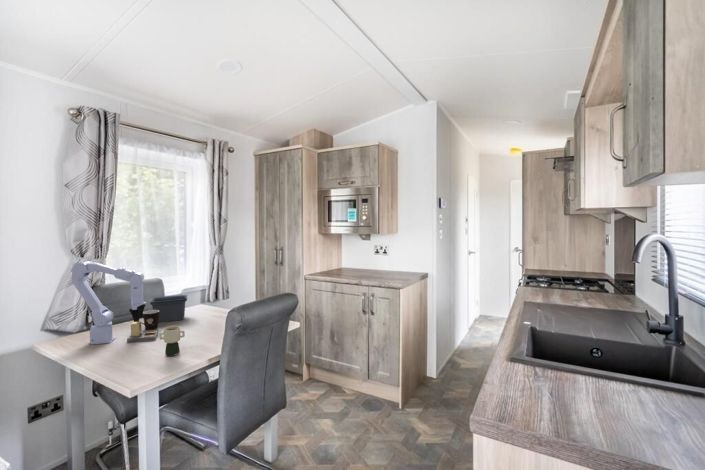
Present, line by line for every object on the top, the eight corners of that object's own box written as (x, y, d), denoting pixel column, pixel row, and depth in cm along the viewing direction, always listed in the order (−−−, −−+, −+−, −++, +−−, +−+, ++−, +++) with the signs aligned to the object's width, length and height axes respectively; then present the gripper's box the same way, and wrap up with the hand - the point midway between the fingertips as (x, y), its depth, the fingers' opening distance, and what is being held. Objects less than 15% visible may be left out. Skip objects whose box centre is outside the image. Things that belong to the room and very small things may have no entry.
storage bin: (149, 324, 217) (148, 301, 216) (152, 317, 231) (152, 296, 231) (187, 320, 225) (186, 298, 225) (188, 314, 240) (188, 293, 239)
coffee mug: (162, 326, 213) (162, 310, 213) (153, 330, 205) (153, 314, 204) (144, 325, 215) (144, 309, 214) (134, 330, 206) (134, 313, 206)
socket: (127, 342, 186) (126, 338, 186) (132, 337, 194) (132, 333, 194) (154, 340, 190) (154, 336, 190) (158, 334, 198) (158, 330, 198)
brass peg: (131, 340, 189) (130, 324, 188) (133, 338, 192) (132, 322, 192) (139, 340, 190) (139, 323, 189) (141, 337, 194) (141, 321, 193)
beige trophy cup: (185, 350, 175) (185, 324, 175) (184, 355, 169) (183, 329, 168) (161, 353, 172) (160, 327, 171) (158, 358, 165) (157, 331, 164)
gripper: (142, 297, 185) (143, 322, 186) (148, 291, 199) (149, 315, 200) (127, 298, 183) (128, 324, 184) (134, 292, 197) (135, 316, 197)
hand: (138, 319), depth 191 cm, fingers open, 7 cm apart
